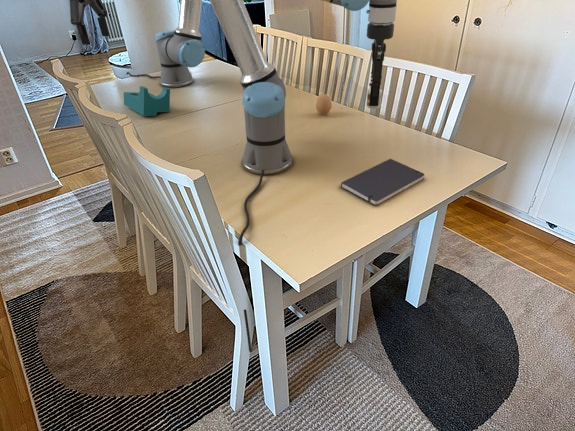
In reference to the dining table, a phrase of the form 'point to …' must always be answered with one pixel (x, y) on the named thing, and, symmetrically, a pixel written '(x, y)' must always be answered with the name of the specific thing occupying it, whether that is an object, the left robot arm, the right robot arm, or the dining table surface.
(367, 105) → the pill bottle
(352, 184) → the notebook
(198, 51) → the left robot arm
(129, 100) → the teal cradle holder
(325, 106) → the egg
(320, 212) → the dining table surface
